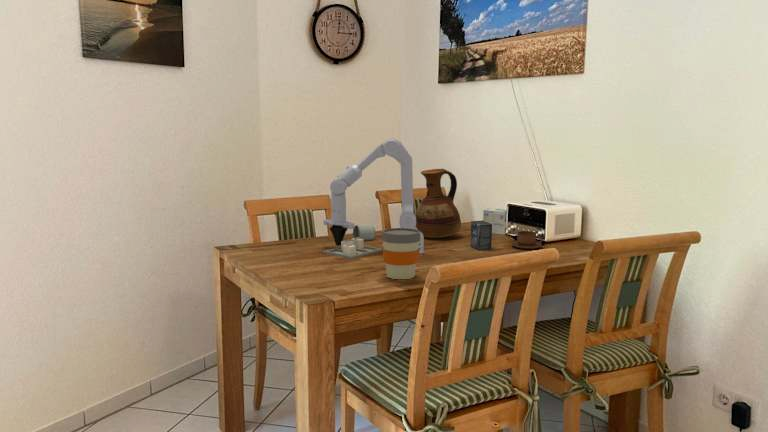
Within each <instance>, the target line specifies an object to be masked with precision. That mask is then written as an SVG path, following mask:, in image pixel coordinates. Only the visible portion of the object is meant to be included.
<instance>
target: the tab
mask: <svg viewBox="0 0 768 432" xmlns="http://www.w3.org/2000/svg"><path fill="white" fill-rule="evenodd" d="M343 254H345V255H350V256H352V255H356V246H354V245H352V244H351V243H350V244H346V245H343Z"/></svg>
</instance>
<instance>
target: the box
mask: <svg viewBox="0 0 768 432" xmlns="http://www.w3.org/2000/svg"><path fill="white" fill-rule="evenodd" d="M492 235H493V234H492V224H491V223H488V222H485V221H483V220H473V221H472V220H471V222H470V247H471V248H473V249H475V250H478V251H491V250H492Z"/></svg>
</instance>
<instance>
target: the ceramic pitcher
mask: <svg viewBox="0 0 768 432" xmlns="http://www.w3.org/2000/svg"><path fill="white" fill-rule="evenodd" d="M420 174H421V175H422V176H423V177H424V178H425V180H426V181H425V183H426V184H425V185H426V189H427V192H426V196H425V197H424V198H423V199H422V200H421V201H420V203H419V204H418V206H417V208H416V212H415V213H414V214H415V216H416V226H415V227H416V228H417V230H419V231H420V232H421V233H423V236H424V238H430V239H431V238H433V239H436V238H445V237H450V236H453V235H455V234H457V233H459V232H460V231H461V229H462V228H461V227H462V220H461V214H460V212H459V211H458V208H457V206H456V205H455V204H454V199H455V195H456V192H457V187H458V183H457V182H458V181H457V178H456V175H455V174H454V173H452V172H451V171H449V170H447V169H445V168H432V169H426V170H422V171H420ZM444 175H448V177H449V180H450V188H449V191H448V193H447V195H445V194H444V192H443V190H442V185H441V180H442V177H443V176H444Z"/></svg>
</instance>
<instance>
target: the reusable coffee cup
mask: <svg viewBox="0 0 768 432" xmlns="http://www.w3.org/2000/svg"><path fill="white" fill-rule="evenodd" d="M381 241H382V245H383V247H382V250H383V251H382V257H383V258H382V259H383V263H385V271H386V277H389V278H393V279H408V278H412V277H414V278H415V275H416V267H417V264H418V262H419V255H420V253H419V250H420V249H419V241H420V231H419V230H416V229H410V228H400V227H394V228H393V227H392V228H386V229H383V230H382V234H381ZM389 278H388V279H389ZM393 279H392V280H393Z"/></svg>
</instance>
